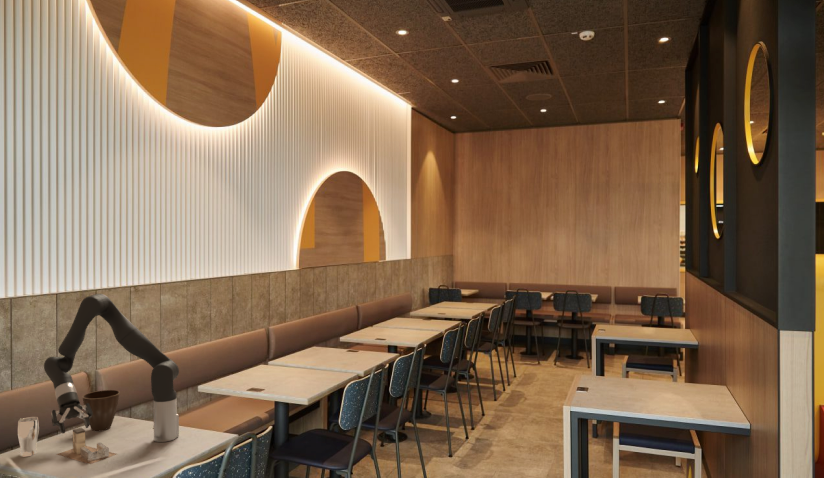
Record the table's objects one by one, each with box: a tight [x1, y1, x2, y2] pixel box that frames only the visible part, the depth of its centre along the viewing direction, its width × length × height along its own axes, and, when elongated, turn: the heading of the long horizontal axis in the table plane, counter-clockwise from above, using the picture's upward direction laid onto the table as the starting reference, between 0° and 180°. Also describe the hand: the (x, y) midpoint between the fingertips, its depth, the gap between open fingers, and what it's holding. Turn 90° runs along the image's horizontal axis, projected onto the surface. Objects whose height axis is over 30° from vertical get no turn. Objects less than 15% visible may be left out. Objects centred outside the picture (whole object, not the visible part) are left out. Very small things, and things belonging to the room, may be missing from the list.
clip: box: [80, 442, 110, 462], centre depth 217 cm, size 9×7×3 cm
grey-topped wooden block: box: [72, 427, 86, 455], centre depth 222 cm, size 5×3×9 cm, turn 48°
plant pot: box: [82, 389, 121, 432], centre depth 253 cm, size 15×15×16 cm
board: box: [56, 445, 117, 465], centre depth 220 cm, size 11×22×1 cm, turn 63°
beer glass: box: [17, 416, 40, 458], centre depth 221 cm, size 7×7×15 cm
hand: (76, 429), depth 225 cm, fingers open, 8 cm apart
